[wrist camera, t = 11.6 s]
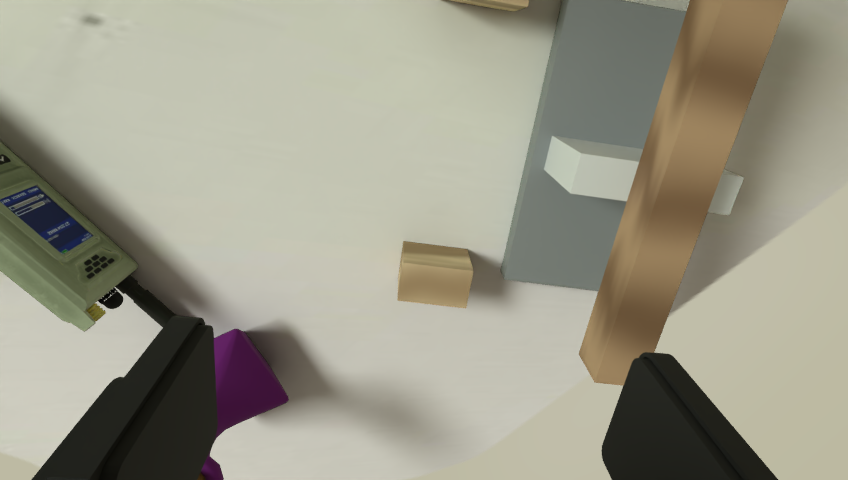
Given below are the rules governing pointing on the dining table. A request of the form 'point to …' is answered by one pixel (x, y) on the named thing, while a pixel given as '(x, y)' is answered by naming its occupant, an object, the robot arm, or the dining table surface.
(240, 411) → the purple potion bottle
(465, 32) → the dining table surface
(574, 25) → the stand
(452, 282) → the bar rest
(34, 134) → the dining table surface
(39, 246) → the handheld radio
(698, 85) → the walnut bar
